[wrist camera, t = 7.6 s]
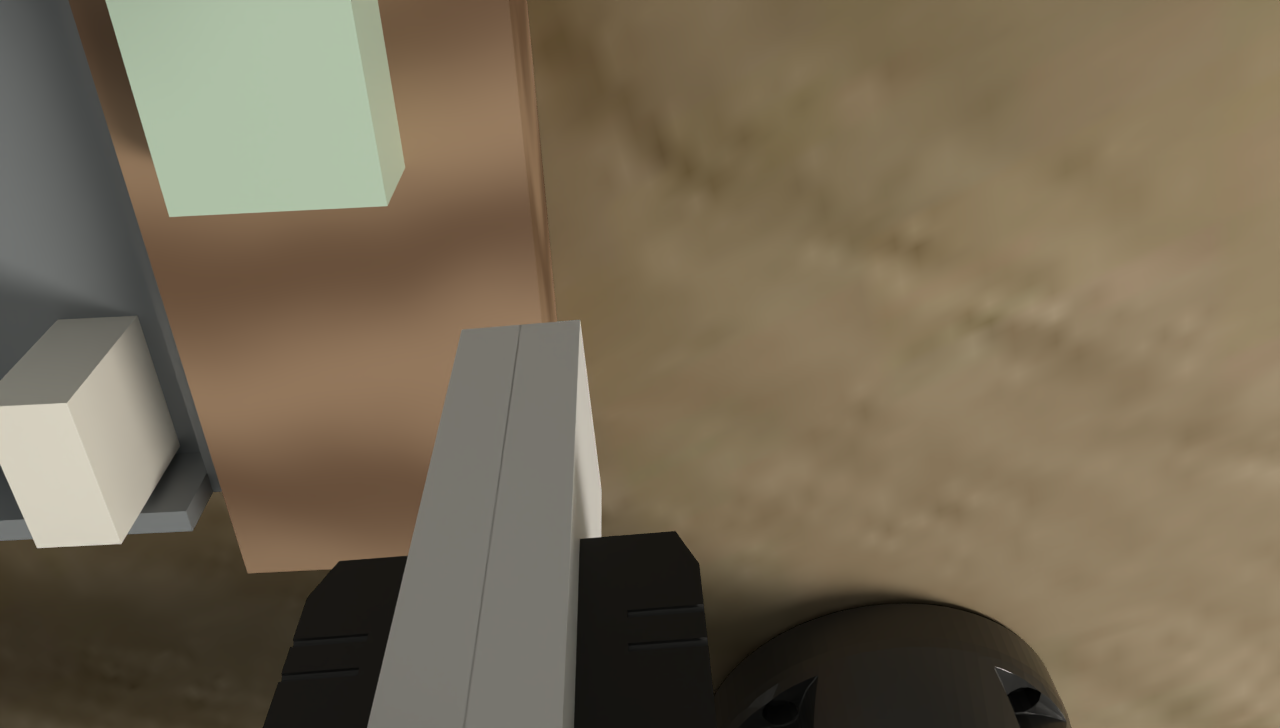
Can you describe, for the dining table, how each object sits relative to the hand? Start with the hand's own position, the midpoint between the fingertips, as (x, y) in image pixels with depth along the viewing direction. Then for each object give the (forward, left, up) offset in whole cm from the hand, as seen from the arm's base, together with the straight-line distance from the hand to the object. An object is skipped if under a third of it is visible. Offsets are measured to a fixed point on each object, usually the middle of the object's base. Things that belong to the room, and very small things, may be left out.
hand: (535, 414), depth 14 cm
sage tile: (+1, +7, -14) cm, 15 cm away
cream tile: (-10, +14, -15) cm, 23 cm away
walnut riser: (-4, +6, -19) cm, 20 cm away
